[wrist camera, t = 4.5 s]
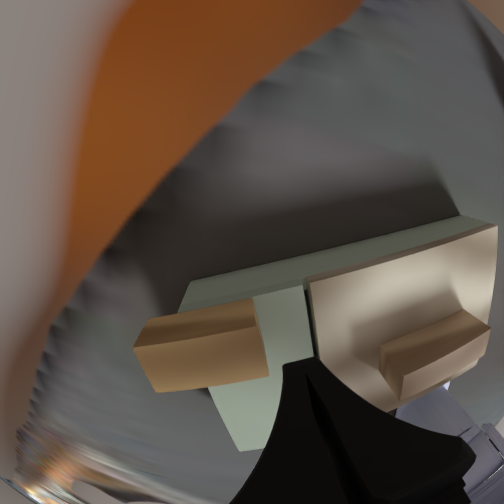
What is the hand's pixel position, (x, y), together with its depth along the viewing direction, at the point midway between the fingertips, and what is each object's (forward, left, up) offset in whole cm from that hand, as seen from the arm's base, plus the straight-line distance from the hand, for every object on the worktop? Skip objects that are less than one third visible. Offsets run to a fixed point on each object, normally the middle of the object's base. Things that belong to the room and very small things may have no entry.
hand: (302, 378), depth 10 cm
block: (0, +4, -5) cm, 7 cm away
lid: (-5, -10, -6) cm, 13 cm away
